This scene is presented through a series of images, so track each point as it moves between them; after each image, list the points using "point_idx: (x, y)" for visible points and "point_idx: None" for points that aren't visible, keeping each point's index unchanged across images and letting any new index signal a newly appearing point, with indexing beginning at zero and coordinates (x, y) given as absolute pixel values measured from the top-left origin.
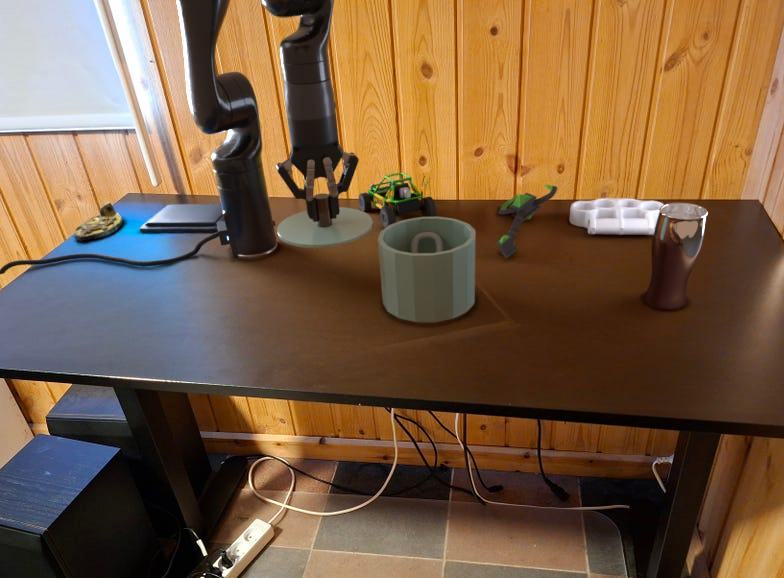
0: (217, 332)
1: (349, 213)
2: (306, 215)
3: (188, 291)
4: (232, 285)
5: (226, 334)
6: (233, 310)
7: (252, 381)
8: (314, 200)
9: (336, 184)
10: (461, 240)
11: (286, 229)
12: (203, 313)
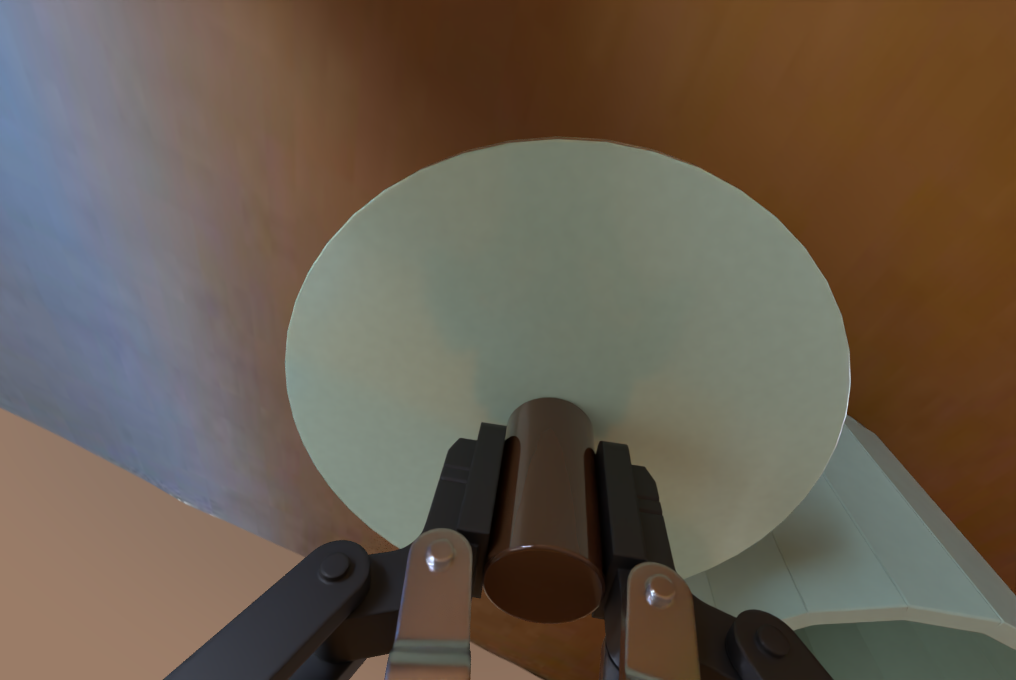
0: (200, 365)
1: (758, 365)
2: (490, 247)
3: (26, 29)
4: (200, 72)
5: (225, 384)
6: (228, 274)
7: (294, 545)
8: (476, 592)
9: (701, 669)
10: (990, 651)
11: (336, 385)
12: (136, 244)
